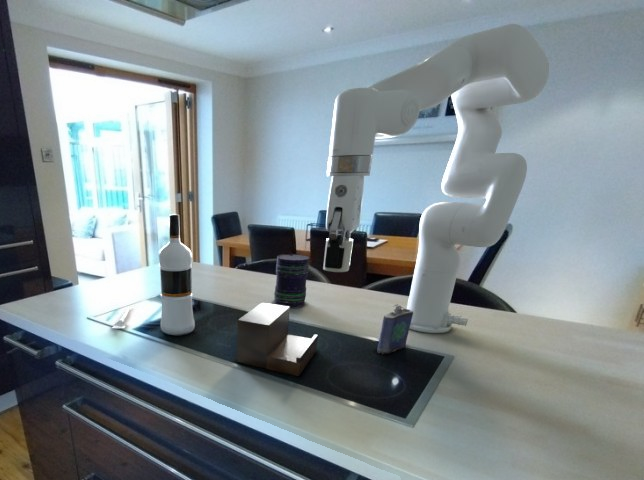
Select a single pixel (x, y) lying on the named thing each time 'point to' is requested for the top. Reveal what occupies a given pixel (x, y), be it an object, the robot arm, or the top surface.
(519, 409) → the top surface
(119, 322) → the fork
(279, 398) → the top surface
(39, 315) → the top surface
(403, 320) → the flask
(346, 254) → the white cylinder
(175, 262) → the vodka
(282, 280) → the storage jar
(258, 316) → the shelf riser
